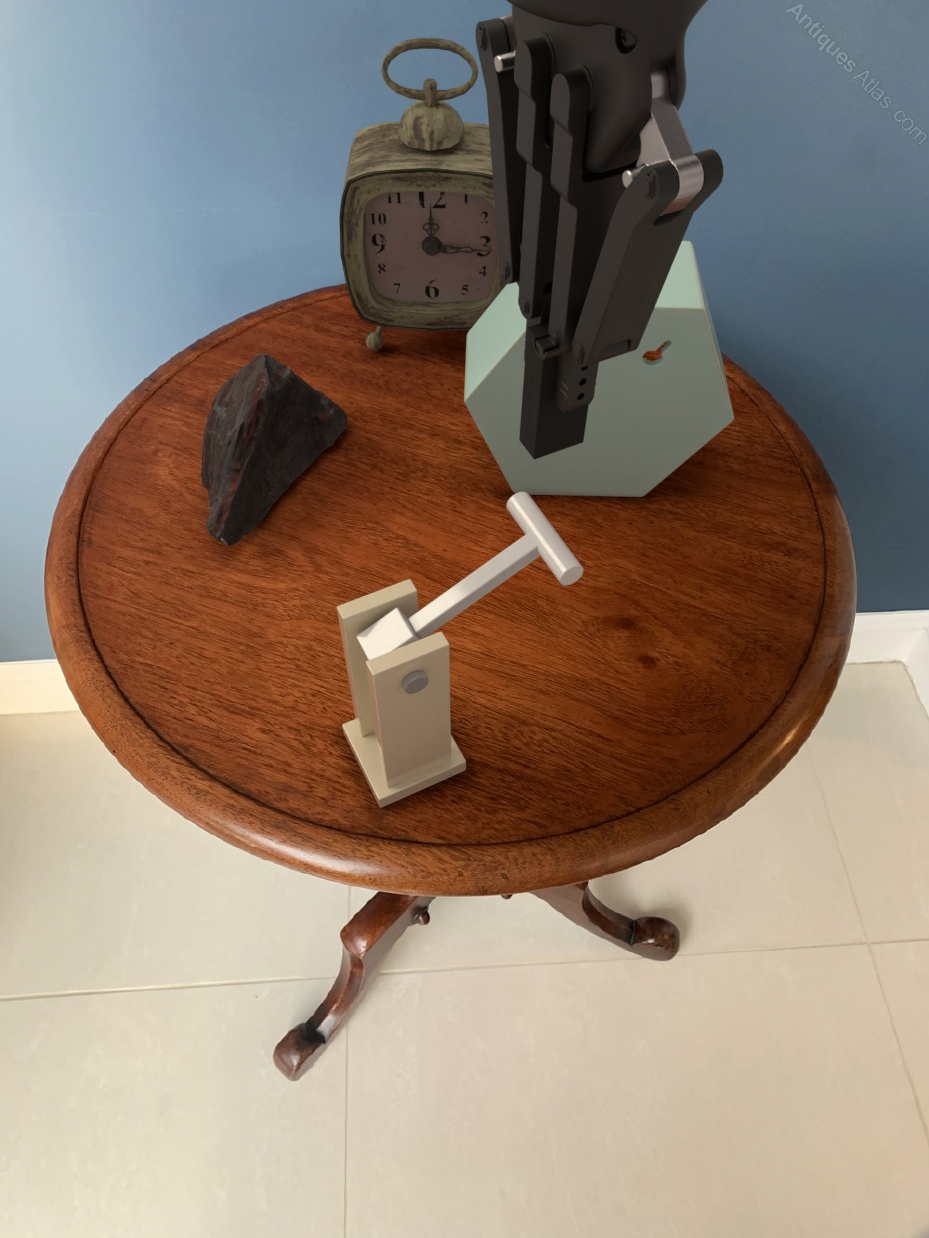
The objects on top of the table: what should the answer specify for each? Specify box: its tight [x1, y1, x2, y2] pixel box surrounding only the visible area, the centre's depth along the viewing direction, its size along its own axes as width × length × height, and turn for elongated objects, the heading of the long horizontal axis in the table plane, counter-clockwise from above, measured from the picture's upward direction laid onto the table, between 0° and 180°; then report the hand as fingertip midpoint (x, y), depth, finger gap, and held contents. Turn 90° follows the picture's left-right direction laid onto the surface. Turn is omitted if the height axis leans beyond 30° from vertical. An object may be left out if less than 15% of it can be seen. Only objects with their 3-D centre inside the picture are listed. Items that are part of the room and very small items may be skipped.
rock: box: [200, 352, 351, 547], centre depth 74 cm, size 7×18×9 cm, turn 152°
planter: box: [463, 240, 735, 498], centre depth 72 cm, size 17×8×21 cm
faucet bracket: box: [336, 578, 467, 809], centre depth 57 cm, size 6×6×14 cm
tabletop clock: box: [338, 37, 522, 352], centre depth 79 cm, size 14×9×25 cm, turn 89°
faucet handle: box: [357, 492, 584, 660], centre depth 53 cm, size 12×6×2 cm, turn 116°
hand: (551, 440), depth 47 cm, fingers closed
